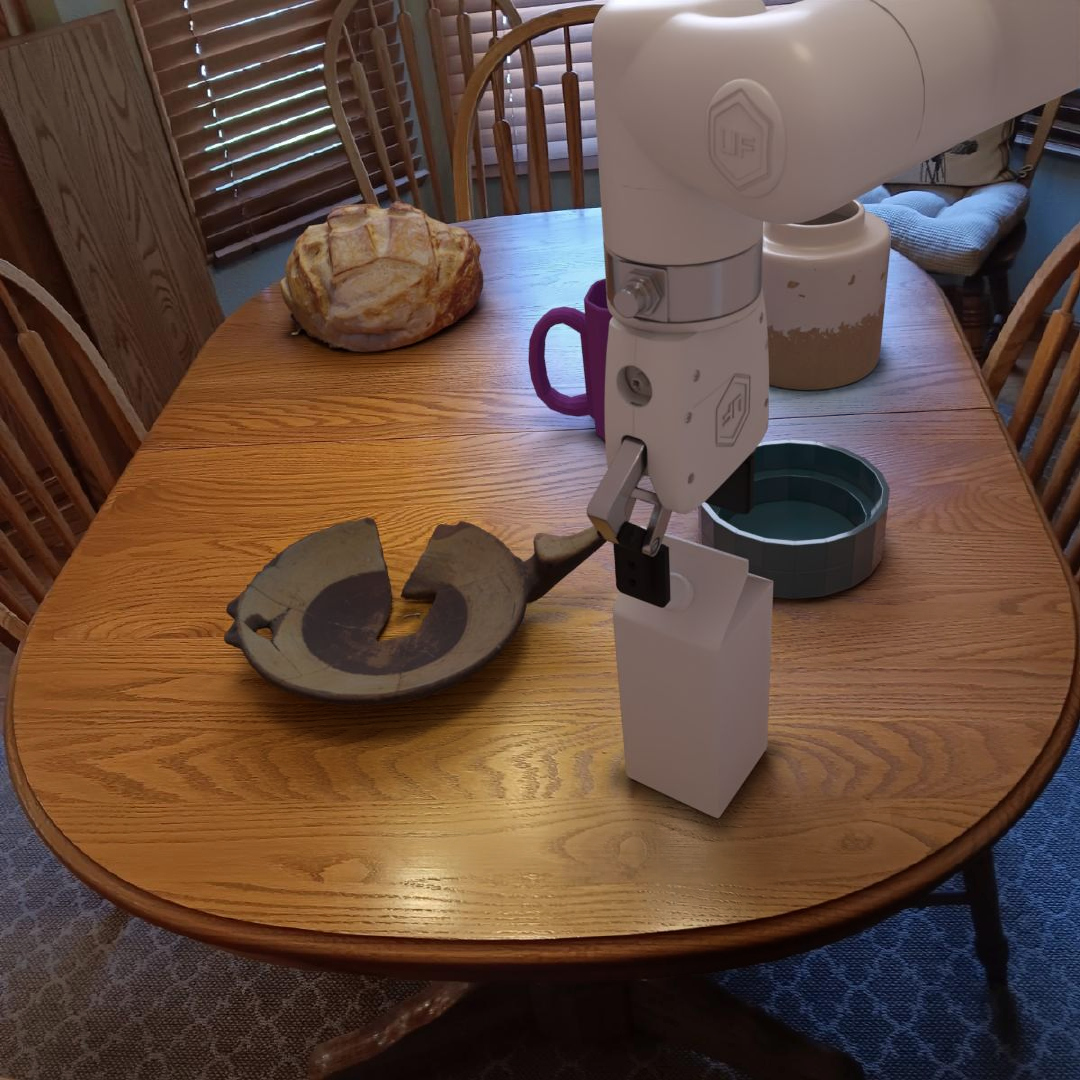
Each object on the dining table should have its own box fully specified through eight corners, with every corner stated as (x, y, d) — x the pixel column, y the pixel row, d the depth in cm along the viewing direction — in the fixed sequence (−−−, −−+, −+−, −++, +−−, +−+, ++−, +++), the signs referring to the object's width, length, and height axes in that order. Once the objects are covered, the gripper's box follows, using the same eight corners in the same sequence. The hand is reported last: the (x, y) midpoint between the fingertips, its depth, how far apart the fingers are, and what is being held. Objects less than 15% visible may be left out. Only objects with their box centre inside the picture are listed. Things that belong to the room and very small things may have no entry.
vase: (868, 323, 121) (880, 178, 111) (890, 388, 109) (906, 231, 99) (733, 330, 123) (734, 189, 113) (741, 394, 111) (742, 242, 101)
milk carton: (677, 711, 76) (669, 495, 64) (768, 749, 72) (776, 527, 61) (625, 777, 71) (606, 558, 60) (718, 821, 68) (717, 597, 56)
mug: (675, 453, 103) (670, 312, 94) (525, 446, 107) (506, 310, 98) (689, 406, 110) (685, 271, 101) (547, 401, 114) (532, 271, 105)
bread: (347, 278, 153) (316, 175, 144) (516, 272, 142) (493, 161, 134) (253, 358, 135) (211, 247, 127) (438, 359, 124) (405, 237, 116)
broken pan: (305, 550, 97) (284, 481, 92) (626, 563, 90) (621, 489, 85) (195, 730, 79) (163, 656, 75) (584, 762, 73) (574, 683, 68)
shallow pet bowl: (910, 524, 90) (917, 465, 87) (837, 627, 81) (842, 566, 77) (749, 479, 98) (750, 424, 95) (667, 569, 89) (664, 511, 85)
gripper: (657, 365, 43) (667, 662, 54) (830, 220, 54) (811, 491, 64) (514, 331, 47) (549, 614, 58) (701, 201, 58) (703, 460, 68)
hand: (687, 549), depth 61 cm, fingers open, 9 cm apart
